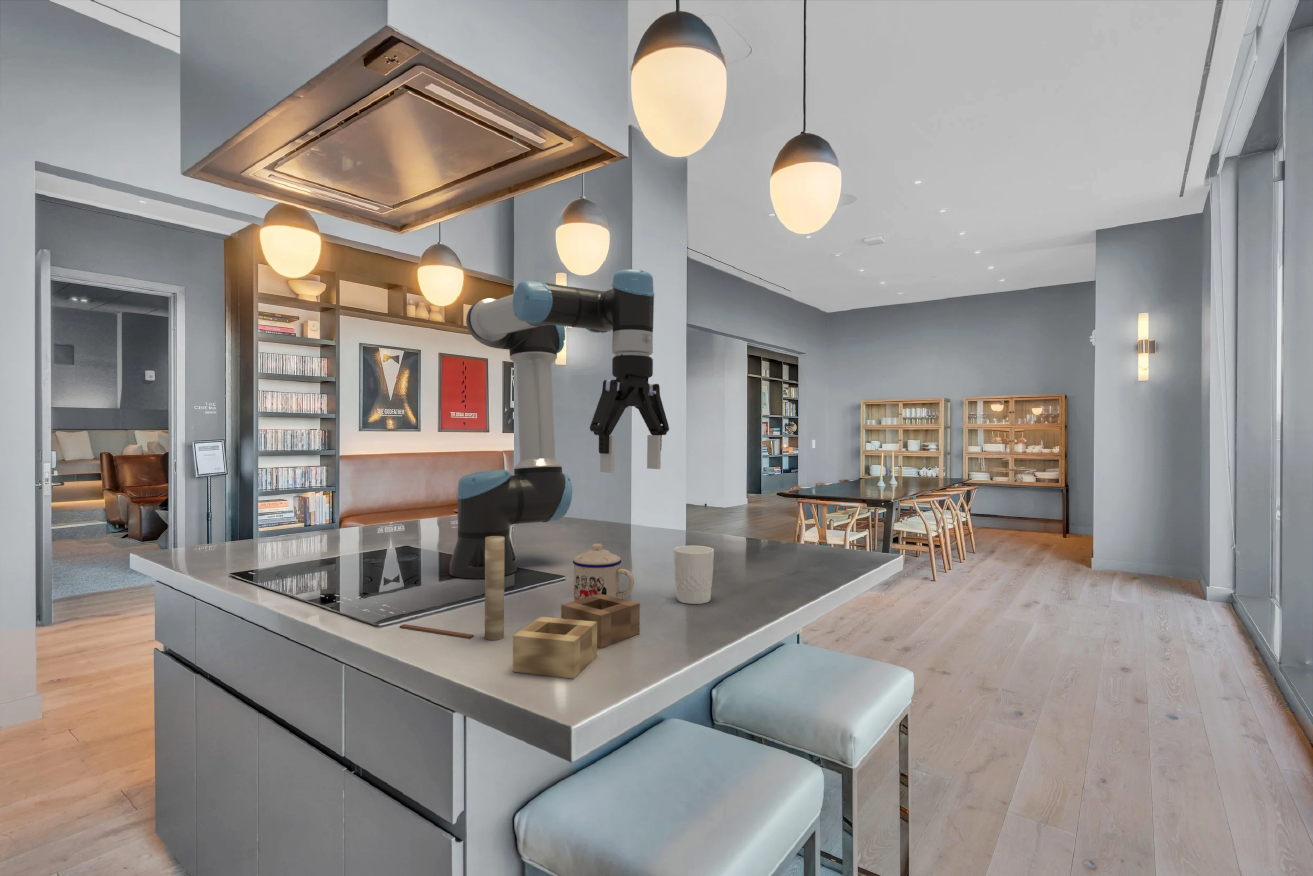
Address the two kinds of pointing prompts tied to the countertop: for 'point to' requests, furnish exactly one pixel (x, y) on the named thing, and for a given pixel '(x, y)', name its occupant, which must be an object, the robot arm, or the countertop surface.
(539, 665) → the light wooden square frame
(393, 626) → the countertop surface
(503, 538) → the beige wooden dowel
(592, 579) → the teacup with lid
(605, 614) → the bead dark
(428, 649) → the countertop surface
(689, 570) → the white cup
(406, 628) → the brown wooden stick
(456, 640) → the countertop surface
